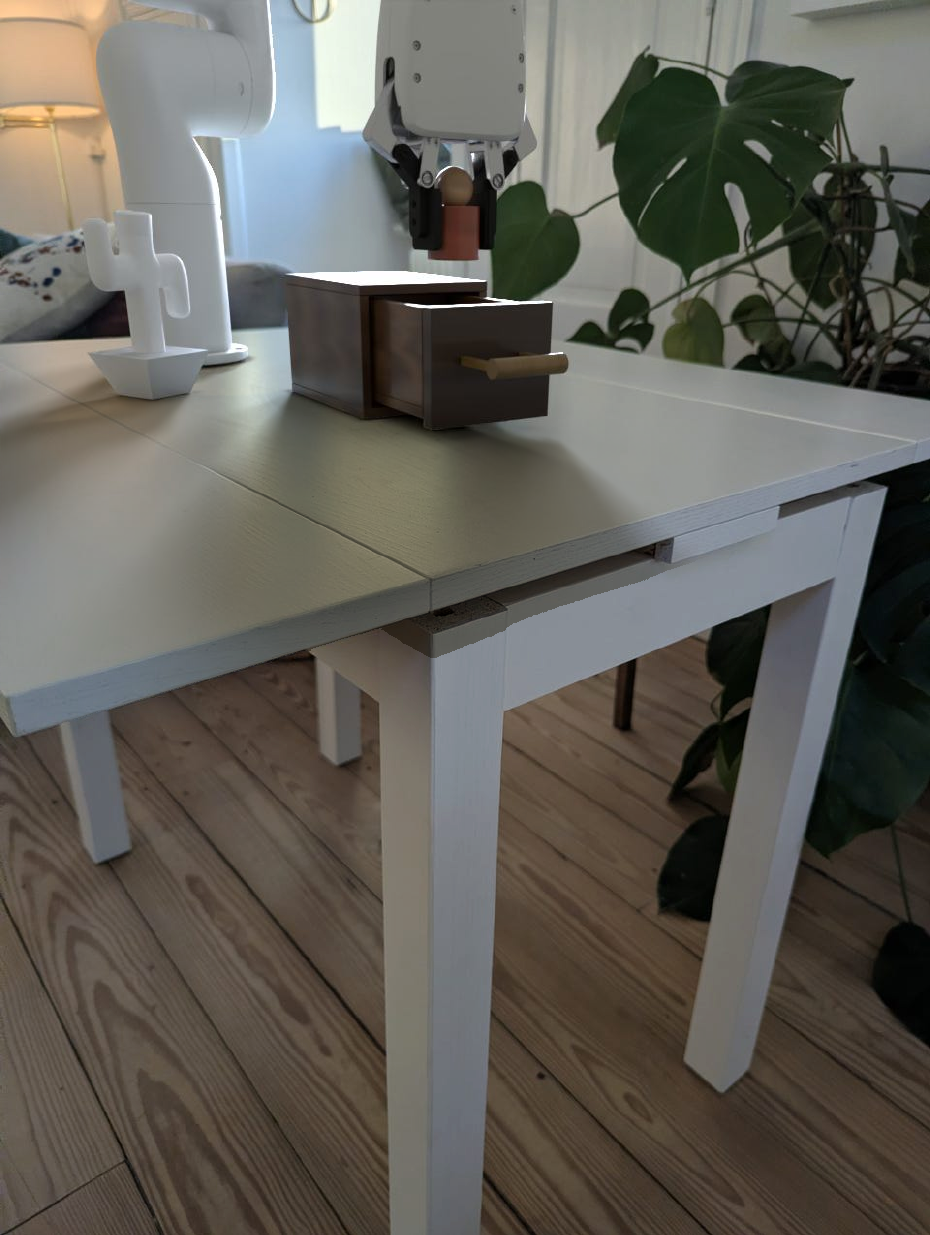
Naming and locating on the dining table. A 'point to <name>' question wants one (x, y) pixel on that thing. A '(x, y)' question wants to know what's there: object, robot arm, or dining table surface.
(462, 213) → the peg doll
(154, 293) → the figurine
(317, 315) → the cabinet
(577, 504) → the dining table surface
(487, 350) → the drawer
